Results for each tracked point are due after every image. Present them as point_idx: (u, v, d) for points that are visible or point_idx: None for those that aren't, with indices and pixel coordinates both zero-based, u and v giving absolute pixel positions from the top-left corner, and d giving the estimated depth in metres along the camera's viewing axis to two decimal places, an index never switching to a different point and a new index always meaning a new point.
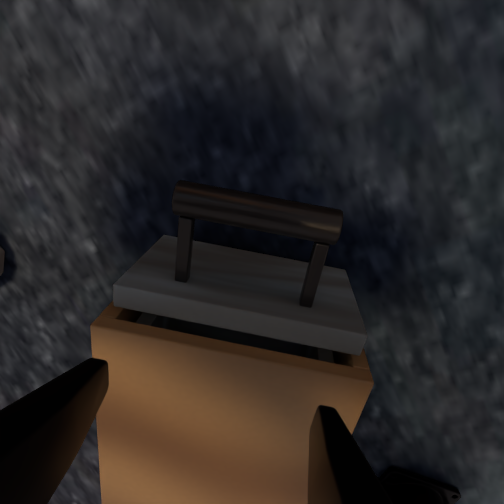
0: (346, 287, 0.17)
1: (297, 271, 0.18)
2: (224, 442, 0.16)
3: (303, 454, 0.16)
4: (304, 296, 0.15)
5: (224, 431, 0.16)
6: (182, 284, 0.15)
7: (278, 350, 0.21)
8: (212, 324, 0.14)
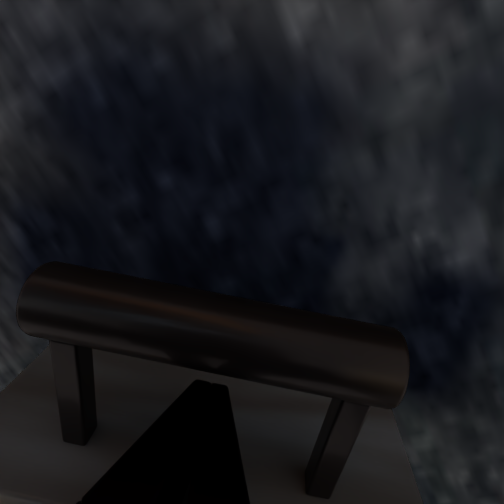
0: (385, 417, 0.10)
1: None
2: None
3: None
4: (315, 482, 0.07)
5: None
6: (76, 451, 0.08)
7: None
8: None
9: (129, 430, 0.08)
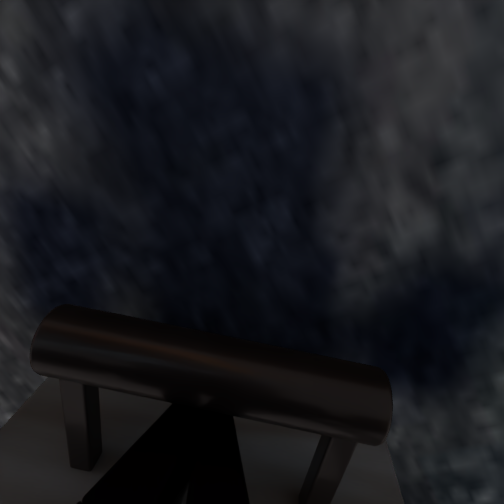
0: None
1: None
2: None
3: None
4: None
5: None
6: (83, 477, 0.08)
7: None
8: None
9: None
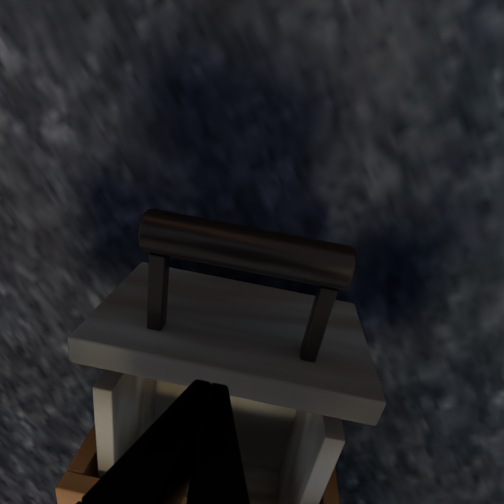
0: (356, 329, 0.15)
1: (297, 308, 0.15)
2: None
3: None
4: (306, 349, 0.12)
5: None
6: (156, 333, 0.12)
7: None
8: None
9: (186, 325, 0.13)
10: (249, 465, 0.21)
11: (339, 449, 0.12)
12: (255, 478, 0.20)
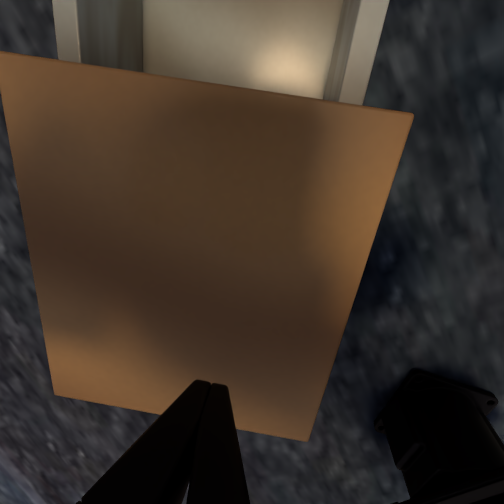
0: None
1: None
2: (201, 258, 0.12)
3: (311, 267, 0.11)
4: None
5: (200, 238, 0.11)
6: None
7: (297, 62, 0.14)
8: None
9: None
10: None
11: None
12: None
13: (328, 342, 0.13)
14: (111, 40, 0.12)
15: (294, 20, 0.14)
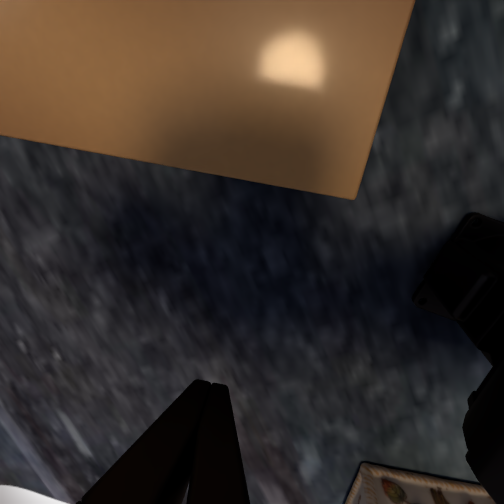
0: None
1: None
2: None
3: None
4: None
5: None
6: None
7: None
8: None
9: None
10: None
11: None
12: None
13: None
14: None
15: None
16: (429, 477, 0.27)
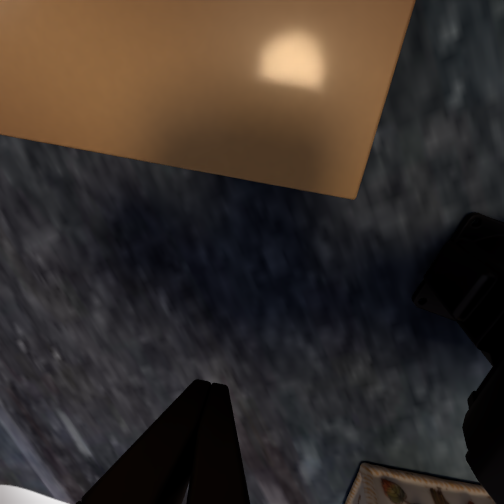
0: None
1: None
2: None
3: None
4: None
5: None
6: None
7: None
8: None
9: None
10: None
11: None
12: None
13: None
14: None
15: None
16: (429, 477, 0.27)
